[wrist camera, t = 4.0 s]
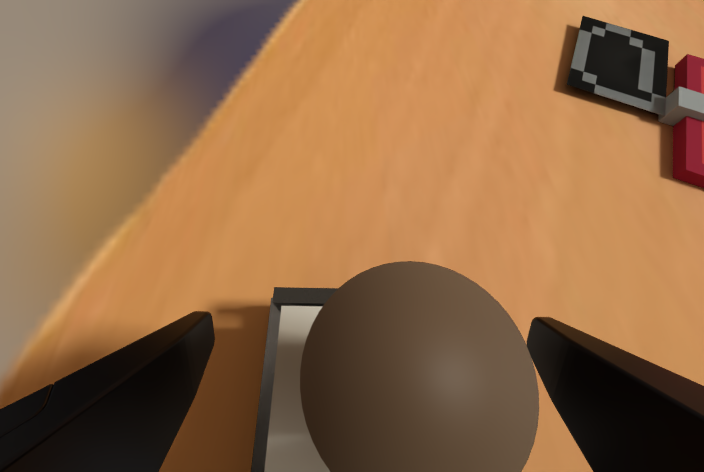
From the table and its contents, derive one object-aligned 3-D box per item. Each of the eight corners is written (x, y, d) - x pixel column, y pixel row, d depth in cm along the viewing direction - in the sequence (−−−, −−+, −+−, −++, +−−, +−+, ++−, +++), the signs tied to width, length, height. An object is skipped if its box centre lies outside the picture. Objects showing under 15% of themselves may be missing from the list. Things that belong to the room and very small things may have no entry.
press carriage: (444, 461, 12) (823, 721, 3) (278, 461, 12) (44, 732, 2) (431, 321, 14) (610, 188, 5) (290, 319, 14) (192, 176, 5)
